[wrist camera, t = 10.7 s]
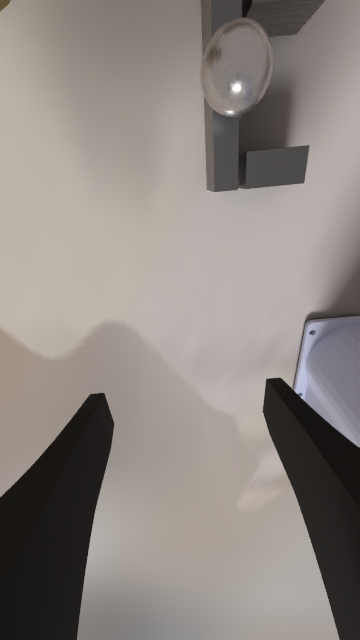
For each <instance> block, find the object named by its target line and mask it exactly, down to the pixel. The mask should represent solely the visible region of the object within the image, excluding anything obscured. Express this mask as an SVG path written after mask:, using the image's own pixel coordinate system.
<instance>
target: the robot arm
mask: <svg viewBox="0 0 360 640" xmlns="http://www.w3.org/2000/svg"><path fill="white" fill-rule="evenodd" d="M311 330H313V331H312V332H311V333H309V332H310V331H311ZM298 393H299V394H298ZM263 413H264V417H265V420H266V423H267V427H268V430H269V433H270V436H271V438H272V441H273V443H274V445H275V448H276V450H277V452H278V455H279V457H280V459H281V462H282V464H283V466H284V469H285V471H286V473H287V476H288V478H289V480H290V482H291V485H292V487H293V490H294V492H295V495H296V497H297V500H298V503H299V506H300V509H301V512H302V515H303V518H304V521H305V524H306V527H307V530H308V533H309V536H310V539H311V543H312V546H313V549H314V552H315V555H316V559H317V562H318V565H319V569H320V572H321V575H322V579H323V582H324V585H325V589H326V592H327V596H328V599H329V603H330V606H331V610H332V613H333V617H334V620H335V624H336V628H337V631H338V635H339V639H340V640H360V316H350V317H339V318H328V319H317V320H310V321H308V322H307V323H306V325H305V330H304V336H303V341H302V346H301V352H300V357H299V363H298V368H297V373H296V379H295V384H294V389H292V388H291V387H290V386H289V385H288V384H287V383H286V382H285V381H284V380H283V379H281V378H271V379H266V388H265V397H264V406H263ZM113 428H114V422H113V419H112V415H111V412H110V409H109V406H108V403H107V400H106V397H105V394H104V393H98V394H90V396H89V397H88V398H87V399H86V400H85V402H84V403H83V404H82V406H81V407H80V408H79V410H78V411H77V413H76V414H75V415H74V416H73V418H72V419H71V420H70V422H69V423H68V424H67V425H66V426H65V428H64V429H63V430H62V431H61V433H60V434H59V435H58V436H57V438H56V439H55V440H54V441H53V442H52V444H51V445H50V446H49V447H48V448H47V449H46V450H45V452H44V453H43V454H42V455H41V456H40V458H39V459H38V460H37V461H36V462H35V463H34V464H33V465H32V466H31V467H30V468H29V469H28V470H27V471H26V473H25V474H24V475H23V476H22V477H21V478H20V479H19V480H18V481H17V482H16V483H15V484H14V485H13V486H12V487H11V488H10V489H9V490H8V491H6V492H5V494H3V496H1V497H0V640H77V632H78V624H79V615H80V607H81V599H82V591H83V584H84V576H85V569H86V563H87V556H88V550H89V543H90V537H91V531H92V524H93V519H94V514H95V509H96V505H97V500H98V496H99V493H100V489H101V485H102V481H103V477H104V473H105V469H106V465H107V461H108V457H109V453H110V449H111V443H112V436H113Z"/></svg>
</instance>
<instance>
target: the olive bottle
mask: <svg viewBox="0 0 360 640" xmlns="http://www.w3.org/2000/svg"><path fill="white" fill-rule="evenodd" d="M9 2H10V0H0V11H1V10H2V9H3V8H5V7H6V6H7V5H8V4H9Z"/></svg>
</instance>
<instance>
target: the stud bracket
mask: <svg viewBox="0 0 360 640" xmlns="http://www.w3.org/2000/svg"><path fill="white" fill-rule="evenodd" d="M324 1H325V0H201V6H202V39H203V60H202V66H201V84H202V89H203V93H204V105H205V138H206V171H207V190H210V191H213V192H220V191H230V190H238V188H242V189H250V188H260V187H270V186H280V185H290V184H300V183H304V180H305V173H306V166H307V158H308V151H309V145H307V146H298V147H288V148H278V149H268V150H258V151H248V152H244V153H242V154H239V155H238V153H239V116H241V115H243V114H245V113H247V112H249V111H250V110H252V109H253V108H254V107H255V106H256V105H257V104H258V103H259V101H260V100H261V99H262V97H263V96H264V94H265V92H266V90H267V88H268V85H269V83H270V80H271V76H272V72H273V59H274V57H273V48H272V43H271V40H270V38H269V37H272V36H281V35H290V34H297V32H298V31H299V30H300V29H301V28H302V27H303V26H304V24H305V23H306V22H307V21H308V20H309V19H310V17H311V16H312V15H313V14H314V13H315V12H316V11H317V9H318V8H319V7H320V6H321V5H322V4H323V3H324Z"/></svg>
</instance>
